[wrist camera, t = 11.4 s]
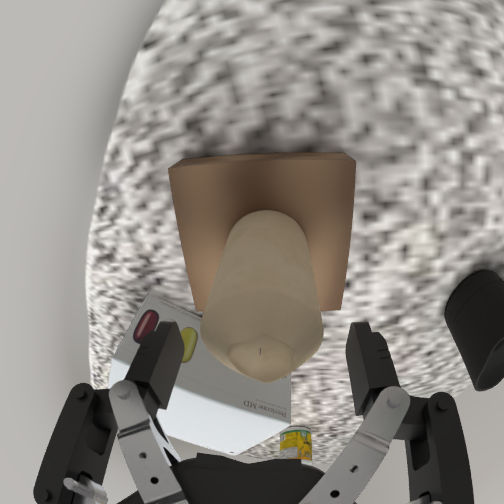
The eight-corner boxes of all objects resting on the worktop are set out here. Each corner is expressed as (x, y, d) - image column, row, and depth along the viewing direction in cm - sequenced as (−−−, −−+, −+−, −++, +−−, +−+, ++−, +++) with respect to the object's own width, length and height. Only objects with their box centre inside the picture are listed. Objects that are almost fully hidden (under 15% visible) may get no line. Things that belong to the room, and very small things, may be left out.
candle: (211, 237, 19) (165, 347, 11) (277, 192, 17) (279, 290, 9) (258, 290, 21) (247, 406, 13) (321, 254, 19) (348, 372, 11)
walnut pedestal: (344, 153, 18) (355, 160, 16) (334, 288, 24) (340, 310, 22) (181, 159, 20) (167, 168, 17) (203, 290, 25) (196, 311, 23)
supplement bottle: (275, 428, 40) (273, 477, 32) (305, 423, 38) (306, 474, 30) (287, 438, 42) (286, 483, 34) (314, 433, 41) (316, 479, 32)
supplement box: (293, 351, 29) (294, 425, 21) (241, 399, 35) (234, 457, 27) (148, 288, 26) (108, 359, 18) (128, 353, 33) (103, 410, 24)
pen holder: (489, 316, 25) (521, 370, 17) (434, 337, 27) (463, 402, 18) (506, 257, 21) (554, 311, 12) (447, 276, 23) (494, 346, 14)
